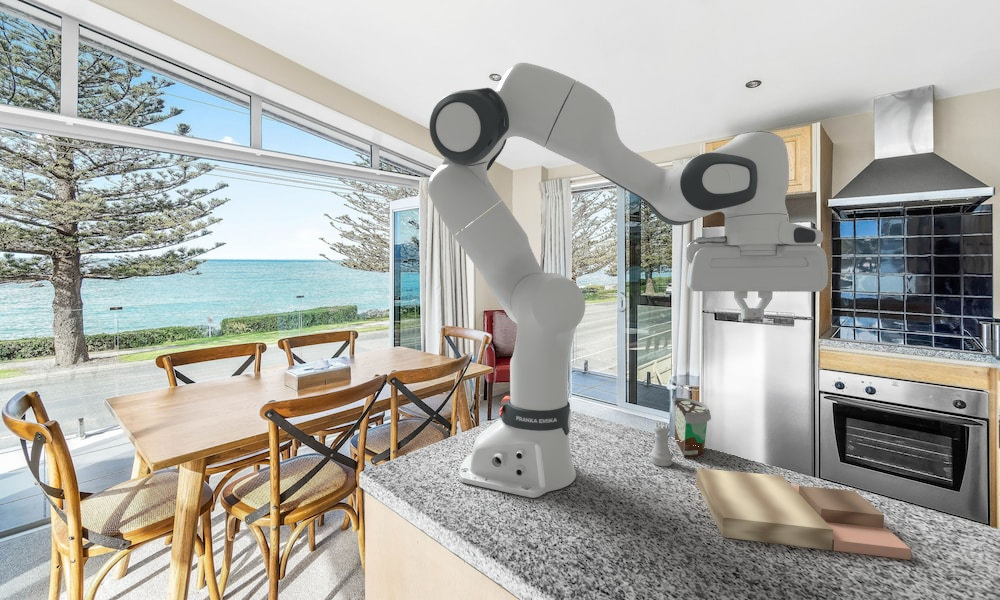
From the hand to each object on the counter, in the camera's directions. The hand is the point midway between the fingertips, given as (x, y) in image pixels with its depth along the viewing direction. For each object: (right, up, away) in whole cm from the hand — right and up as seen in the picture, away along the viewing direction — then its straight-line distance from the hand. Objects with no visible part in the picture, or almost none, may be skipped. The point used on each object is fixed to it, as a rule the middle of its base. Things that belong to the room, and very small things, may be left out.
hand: (752, 319), depth 70 cm
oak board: (-1, -31, -2) cm, 31 cm away
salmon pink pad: (+11, -31, -5) cm, 33 cm away
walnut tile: (+11, -30, -5) cm, 32 cm away
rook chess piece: (-9, -31, +16) cm, 36 cm away
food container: (+1, -30, +22) cm, 37 cm away
